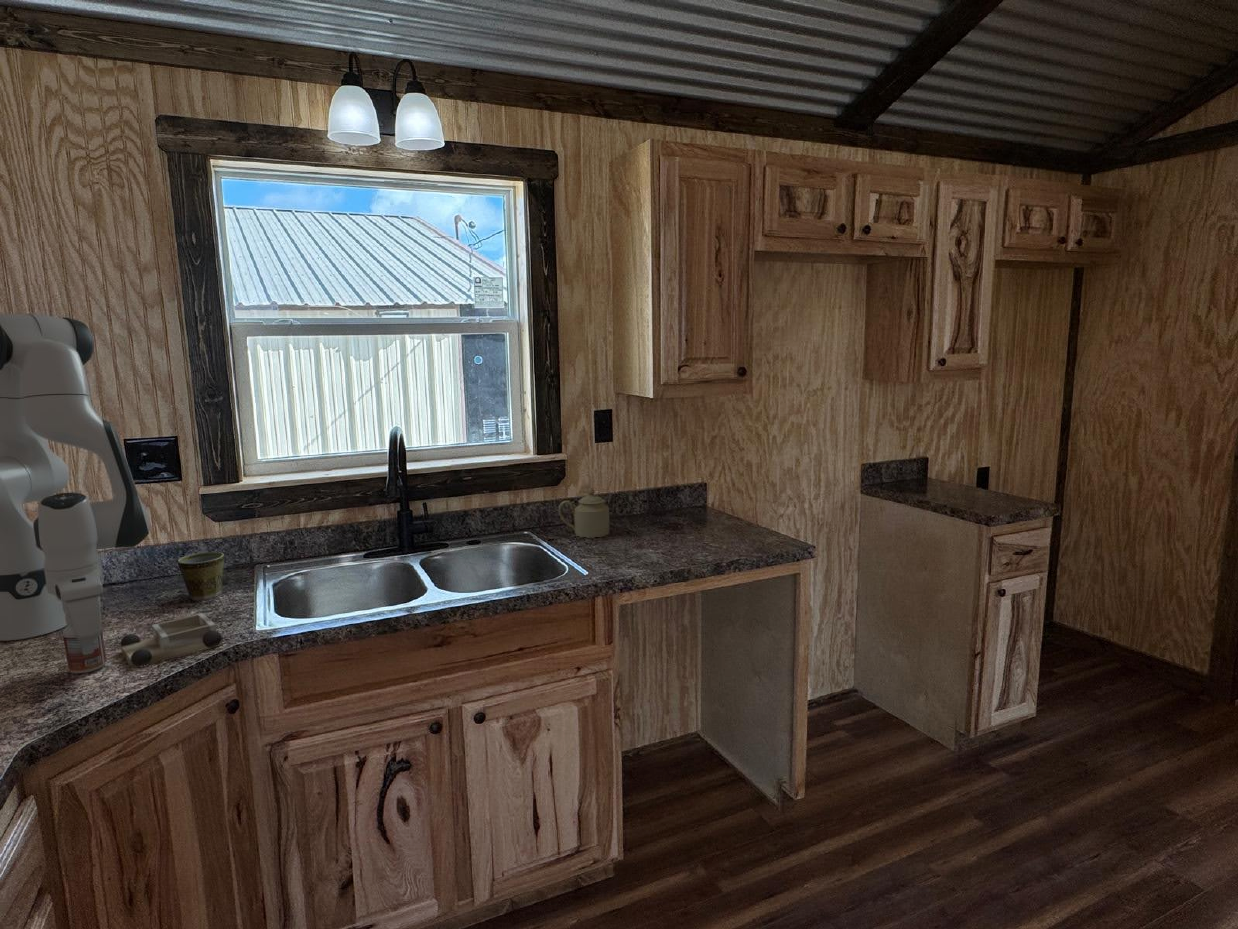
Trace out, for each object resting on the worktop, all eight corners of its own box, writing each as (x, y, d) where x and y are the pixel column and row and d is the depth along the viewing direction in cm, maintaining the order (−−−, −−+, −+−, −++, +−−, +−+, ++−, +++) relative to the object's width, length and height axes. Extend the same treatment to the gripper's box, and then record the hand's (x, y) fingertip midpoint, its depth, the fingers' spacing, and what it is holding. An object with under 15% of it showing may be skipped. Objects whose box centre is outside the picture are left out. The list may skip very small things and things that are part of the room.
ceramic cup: (234, 595, 188) (230, 556, 186) (191, 606, 180) (186, 566, 179) (214, 584, 196) (210, 547, 195) (172, 594, 189) (167, 556, 187)
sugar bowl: (571, 542, 229) (570, 493, 227) (558, 534, 239) (556, 487, 236) (615, 535, 236) (614, 488, 233) (600, 527, 245) (599, 482, 243)
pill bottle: (81, 661, 149) (73, 608, 147) (113, 660, 150) (106, 607, 148) (61, 675, 143) (52, 620, 141) (95, 673, 144) (87, 618, 142)
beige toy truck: (121, 652, 154) (118, 631, 153) (207, 630, 164) (205, 611, 164) (132, 669, 146) (129, 647, 145) (222, 645, 156) (220, 624, 156)
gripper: (48, 570, 149) (58, 636, 151) (61, 595, 134) (72, 668, 136) (86, 563, 153) (95, 628, 155) (103, 587, 138) (113, 658, 140)
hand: (85, 647), depth 146 cm, fingers closed on pill bottle, 6 cm apart
